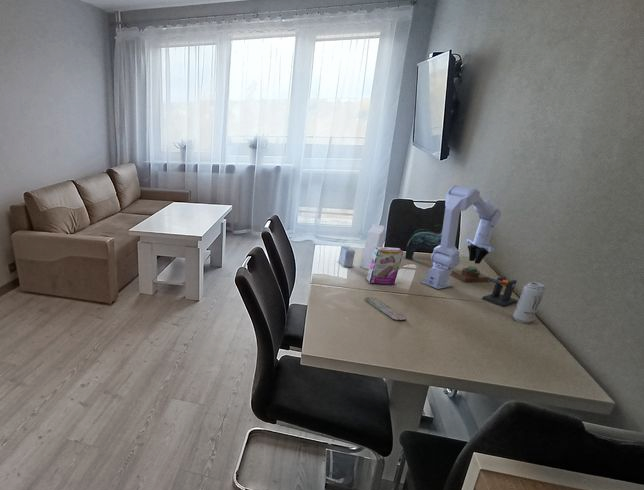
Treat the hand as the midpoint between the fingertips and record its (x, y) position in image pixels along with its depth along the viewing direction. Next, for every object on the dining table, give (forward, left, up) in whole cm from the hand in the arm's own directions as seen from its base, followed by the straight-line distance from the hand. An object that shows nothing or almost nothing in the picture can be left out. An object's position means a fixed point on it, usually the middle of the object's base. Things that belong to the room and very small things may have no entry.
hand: (474, 262), depth 194 cm
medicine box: (-42, +37, -8) cm, 57 cm away
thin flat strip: (-67, -7, -8) cm, 68 cm away
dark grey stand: (-14, -21, -8) cm, 27 cm away
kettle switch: (-18, -21, 0) cm, 28 cm away
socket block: (0, 0, -8) cm, 8 cm away
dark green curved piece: (+2, +24, -8) cm, 26 cm away
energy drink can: (-25, -35, -8) cm, 44 cm away
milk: (-34, +29, -8) cm, 45 cm away
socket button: (0, 0, -5) cm, 5 cm away
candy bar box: (-45, +13, -8) cm, 48 cm away
